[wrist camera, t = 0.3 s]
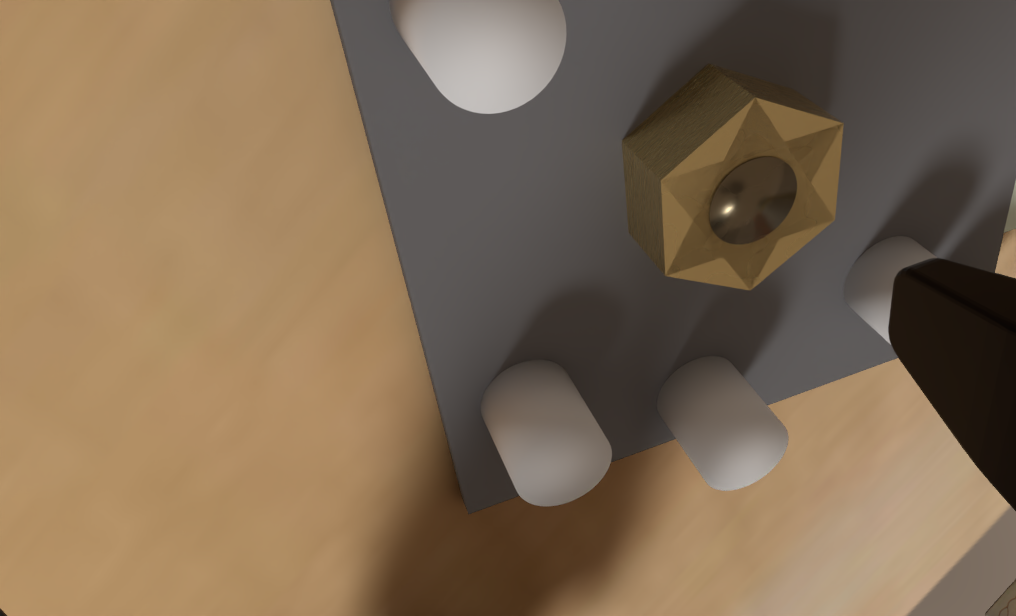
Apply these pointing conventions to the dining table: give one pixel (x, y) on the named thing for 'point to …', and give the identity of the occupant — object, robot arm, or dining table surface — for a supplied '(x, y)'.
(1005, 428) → the robot arm
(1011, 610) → the stack of blocks
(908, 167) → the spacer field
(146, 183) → the dining table surface
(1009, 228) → the tile
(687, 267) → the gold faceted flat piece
